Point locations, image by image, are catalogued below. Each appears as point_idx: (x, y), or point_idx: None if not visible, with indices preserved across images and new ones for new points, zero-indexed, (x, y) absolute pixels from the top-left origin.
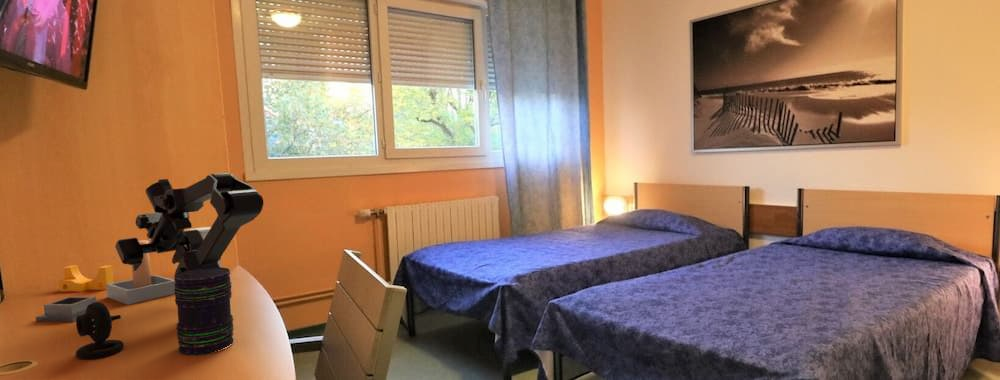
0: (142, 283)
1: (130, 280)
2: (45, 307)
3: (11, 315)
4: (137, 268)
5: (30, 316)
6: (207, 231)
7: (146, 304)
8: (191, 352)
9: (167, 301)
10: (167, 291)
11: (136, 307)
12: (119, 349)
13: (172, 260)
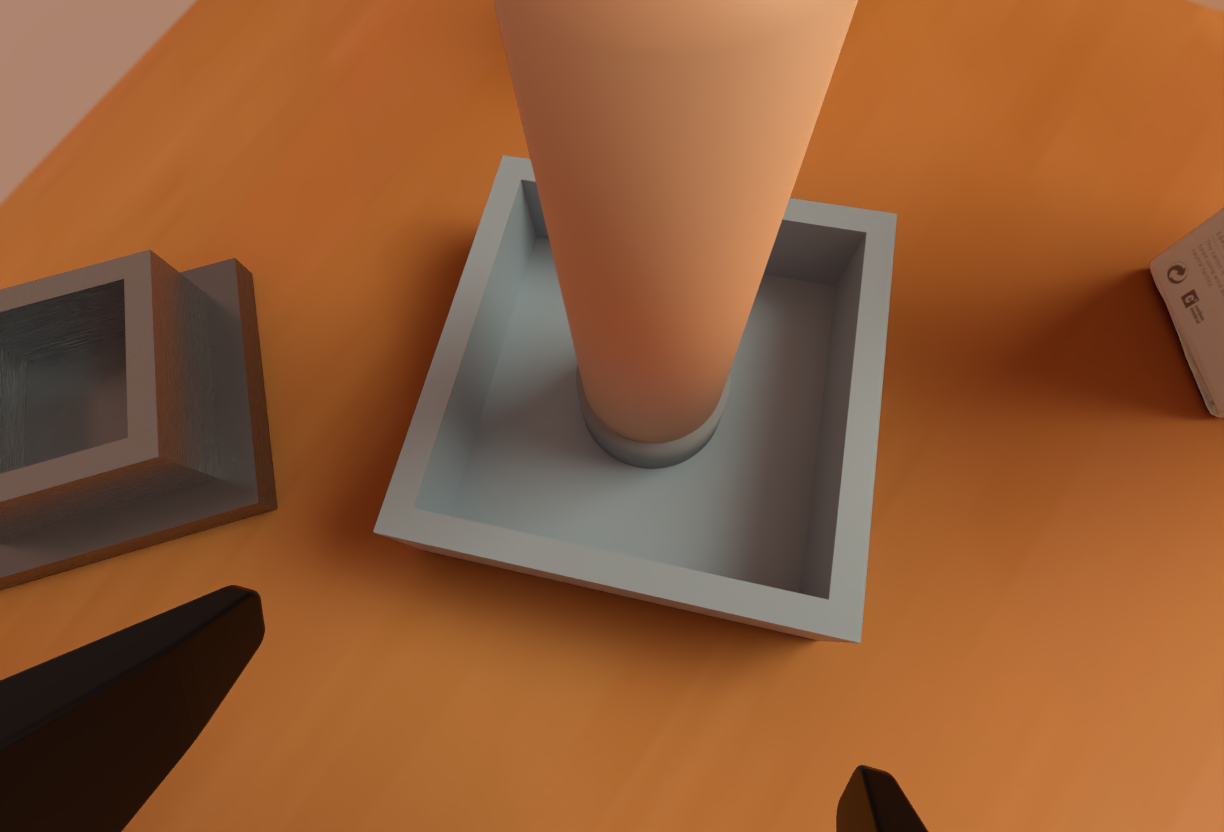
0: (612, 420)
1: None
2: None
3: (104, 109)
4: (153, 783)
5: (93, 213)
6: None
7: (466, 704)
8: None
9: (594, 816)
10: (734, 619)
11: (376, 705)
12: None
13: (858, 812)
